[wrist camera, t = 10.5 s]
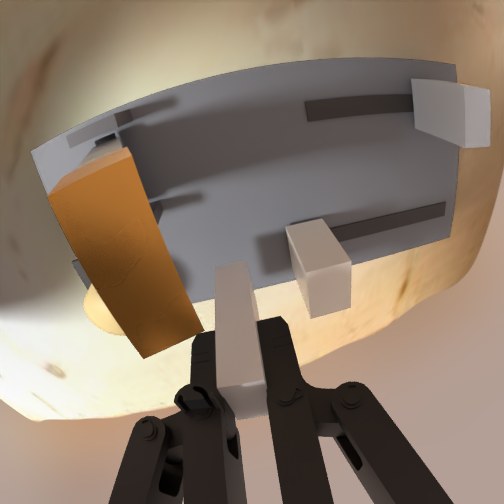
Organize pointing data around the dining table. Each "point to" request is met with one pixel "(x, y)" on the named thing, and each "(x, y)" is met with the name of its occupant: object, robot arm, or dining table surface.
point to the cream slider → (320, 267)
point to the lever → (124, 248)
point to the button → (100, 313)
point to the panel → (279, 164)
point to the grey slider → (453, 112)
